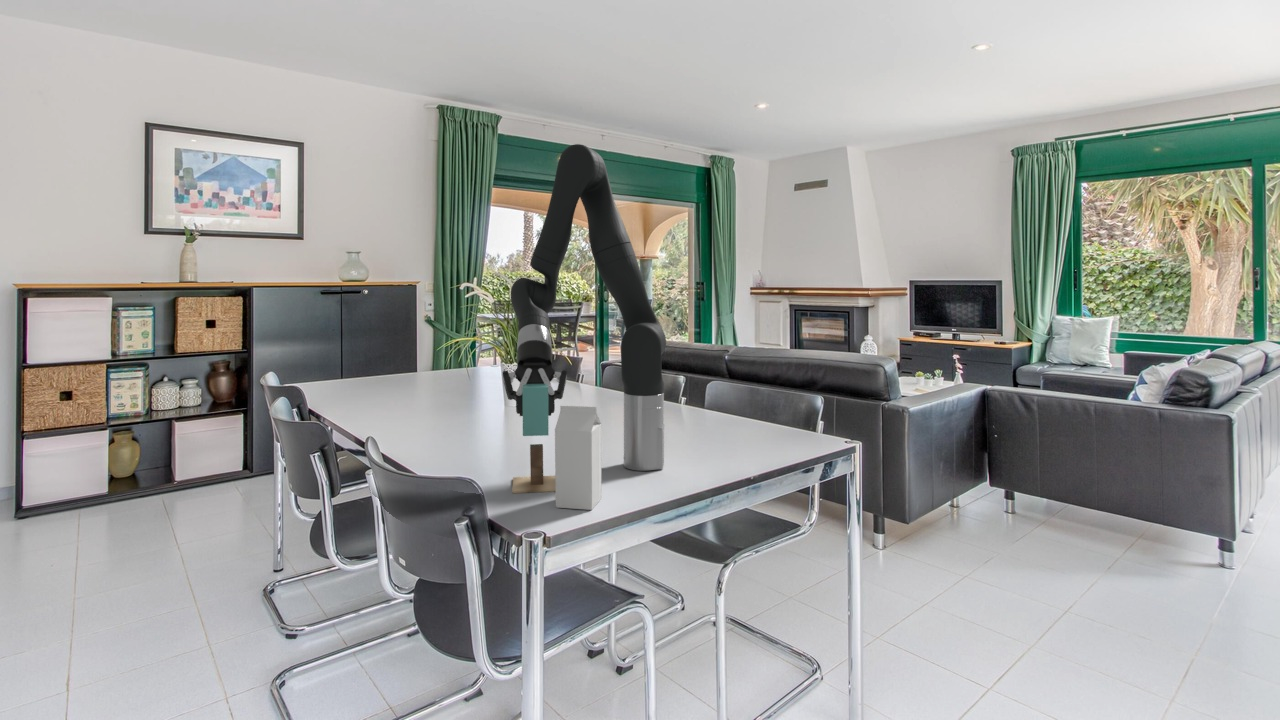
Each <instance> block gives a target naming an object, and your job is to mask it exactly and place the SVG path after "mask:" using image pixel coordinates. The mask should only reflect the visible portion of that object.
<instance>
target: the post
mask: <svg viewBox="0 0 1280 720" xmlns="http://www.w3.org/2000/svg"><path fill="white" fill-rule="evenodd" d="M529 452H530V453H529V457H530V458H529V463H530V467H529V468H530V476H516V477H515V476H514V477H512V494H524V493H525V494H527V493H528V492H529V493H543V492H544V493H547V492H556V485H555V475H544V446H543V444H542V443H541V444H540V443H538V444H537V443H534V444H532V443H531V444H529Z"/></svg>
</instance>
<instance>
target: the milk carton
mask: <svg viewBox="0 0 1280 720" xmlns="http://www.w3.org/2000/svg"><path fill="white" fill-rule="evenodd" d="M559 407H560V409H559V414H558V418H557V421H556V424H555V427H554V455H555V456H554V463H555V464H554V469H555V474H554V476H555V485H556V491H555V508H559V509H560V508H563V509H571V510H572V509H575V510H589V511H590V510H591V511H592V510H593V509H594V508H595V506H596V505H597V504H598V503H599V501H600V500H601V499H602V496H603V495H602V422H601V420H600V418H599V414H598V413H597V406H586V405H585V406H584V405H577V406H576V405H563V404H561V405H560V406H559Z"/></svg>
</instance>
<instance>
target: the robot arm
mask: <svg viewBox="0 0 1280 720" xmlns="http://www.w3.org/2000/svg"><path fill="white" fill-rule="evenodd" d="M551 191H552V192H551V195H550V196H551V197H550V200H549V203H548V209H547V212H546V216H545V218H544V222H543V226H542V227H541V231H540V233H539V237H538V239H537V241H536V242H537V243H536V244H535V247H534V250H533V253H532V255H531V258H530V262H529V265H530V267H531V268H532V270H535V271H537V272H538V273H540V274H541V275H543V276H544V282H541V281H538V280H534V279H531V278H528V277H520V278H518V279H516V280H515V281H514V282H513V284H512V286H511V288H510V289H511V290H510V301H511V305H512V308H513V311H514V313H515V316H516V319H517V322H518V326H517V327H518V329H517V330H518V331H517V332H518V333H517V334H518V337H517V340H516V341H517V343H516V356H517V357H516V363H517V364H516V369H515V371H511V372H508V371H507V370H504V371H502V382H503V384H504V385H503V386H504V390H505V393H506V396H507V397H506V398H507V399H508V400H509V401H512V400H514V401H515V410H516V411H515V412H516V414H518V415H519V417H523V390H522V387H523V385H526V384H548V417H550V416H551V417H552V414H554V413H555V411H556V409H555V408H556V407H555V400H557V399H558V400H562V399H563V397H564V393H565V387H566V383H567V380H568V379H567V377H568V372H567V370H565V369H563V370H562V371H561V372H560V371H555V369H554V367H553V354H552V353H553V347H552V338H551V329H550V317H549V313H550V312H551V311H552V310H553V309H554V307H555V305H556V301H557V293H558V292H557V290H558V281H559V274H560V270H561V266H562V264H563V262H564V260H565V256H566V254H567V252H568V248H569V245H570V242H571V235H572V228H573V227H572V226H573V220H574V217H575V211H576V208H577V206H578V205H577V204H578V202H579V200H580V201H581V203H582V205H583V208H584V211H585V214H586V217H587V218H586V219H587V228H588V229H587V230H588V239H589V246H590V251H591V255H592V257H593V260H594V263H595V265H596V268H597V271H598V273H599V276H600V278H601V280H602V282H603V284H604V286H605V287H606V289H607V290H608V292H609V294H610V295H611V296H612V298H613V300H614V302H615V304H616V305H617V307H618V309H619V312H620V314H621V318H622V320H623V324H624V328H625V331H624V333H623V336H622V338H621V342H620V343H621V345H620V364H621V365H620V368H621V381H622V385H623V468H626V469H629V470H632V471H645V472H647V471H655V470H663V469H664V465H665V423H664V419H665V418H664V414H665V412H664V411H665V410H664V409H665V406H664V405H665V383H664V379H663V371H662V370H663V369H662V355H663V354H664V352H665V350H666V348H667V338H666V335H665V332H664V330H663V327H662V325H661V323H660V321H659V319H658V318H657V316H656V314H655V311H654V309H653V307H652V305H651V303H650V299H649V297H648V293H647V291H646V290H647V288H646V285H645V281H644V278H643V275H642V272H641V269H640V266H639V262H638V258H637V255H636V252H635V251H634V247H633V245H632V242H631V240H630V239H631V238H630V236H629V234H628V232H627V229H626V226H625V224H624V222H623V219H622V217H621V214H620V212H619V210H618V208H617V206H616V202H615V198H614V195H613V191H612V187H611V182H610V179H609V175H608V171H607V167H606V164H605V161H604V159H603V157H602V156H601V155H600V154H599V153H598V152H597V151H596V150H593V149H592V148H590V147H588V146H587V145H584V144H580V143H574V144H571V145H569V146H568V147H566V148H565V149H564V150H563V151H562V152H561V154H560V156H559V160H558V163H557V168H556V172H555V176H554V181H553V187H552V190H551ZM554 378H555V379H556V382H557V383H558V386H557V389H556V390H554V389H553V386H552V384H551V382H552V381H553V379H554ZM514 379H516V380H517V381H518V382H519V386H518V388H517V391H516V390H514V388H513V385H512V384H513V382H514Z"/></svg>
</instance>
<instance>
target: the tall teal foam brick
mask: <svg viewBox="0 0 1280 720" xmlns="http://www.w3.org/2000/svg"><path fill="white" fill-rule="evenodd" d="M522 390H523V416H522V437H537V436H540V437H541V436H542V437H543V436H544V437H546V436H549V416H548V384H526V385H523V387H522Z"/></svg>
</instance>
